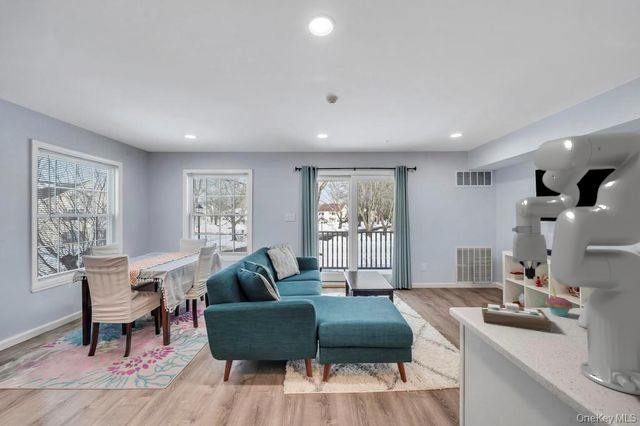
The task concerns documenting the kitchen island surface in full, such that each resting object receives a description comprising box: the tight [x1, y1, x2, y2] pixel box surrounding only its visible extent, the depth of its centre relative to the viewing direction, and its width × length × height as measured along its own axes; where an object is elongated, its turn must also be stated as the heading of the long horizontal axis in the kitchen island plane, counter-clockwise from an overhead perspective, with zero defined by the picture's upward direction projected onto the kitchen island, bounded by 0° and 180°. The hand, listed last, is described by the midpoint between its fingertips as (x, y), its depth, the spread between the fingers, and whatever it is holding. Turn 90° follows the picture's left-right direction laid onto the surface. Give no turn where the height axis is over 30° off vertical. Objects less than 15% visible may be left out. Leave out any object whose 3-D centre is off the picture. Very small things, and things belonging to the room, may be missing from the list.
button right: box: [523, 307, 539, 313], centre depth 103 cm, size 4×4×3 cm
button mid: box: [504, 302, 520, 311], centre depth 106 cm, size 4×4×3 cm
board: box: [481, 302, 552, 333], centre depth 105 cm, size 14×20×5 cm
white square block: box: [488, 303, 500, 308], centre depth 109 cm, size 4×4×3 cm
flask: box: [576, 298, 588, 329], centre depth 99 cm, size 7×7×10 cm
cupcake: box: [545, 285, 574, 317], centre depth 112 cm, size 9×8×12 cm
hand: (530, 278), depth 104 cm, fingers closed
